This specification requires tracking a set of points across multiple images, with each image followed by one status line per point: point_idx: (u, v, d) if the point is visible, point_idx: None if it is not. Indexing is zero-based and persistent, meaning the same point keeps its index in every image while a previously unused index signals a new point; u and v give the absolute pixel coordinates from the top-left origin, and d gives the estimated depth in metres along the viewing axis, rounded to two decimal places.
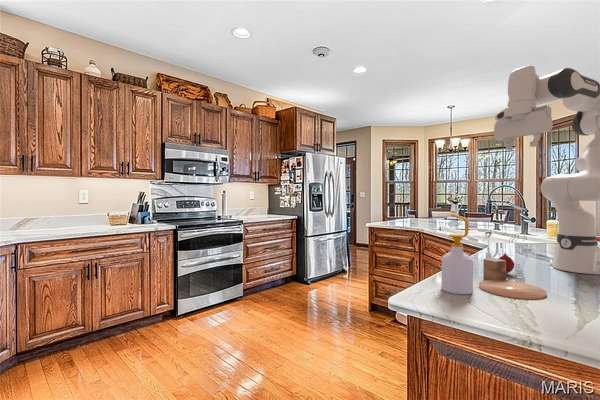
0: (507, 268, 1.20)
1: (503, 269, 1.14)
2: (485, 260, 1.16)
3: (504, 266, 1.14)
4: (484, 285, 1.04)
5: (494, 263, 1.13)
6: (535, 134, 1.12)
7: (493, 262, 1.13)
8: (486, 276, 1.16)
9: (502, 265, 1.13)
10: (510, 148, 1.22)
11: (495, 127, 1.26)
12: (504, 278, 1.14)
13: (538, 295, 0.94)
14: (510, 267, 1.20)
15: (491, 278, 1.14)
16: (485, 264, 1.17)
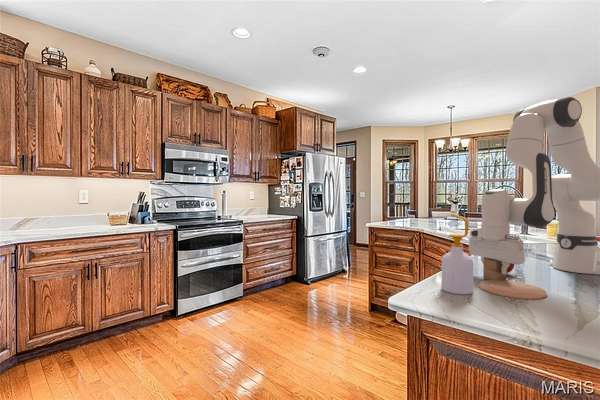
0: (507, 268, 1.20)
1: None
2: (485, 260, 1.16)
3: None
4: (484, 285, 1.04)
5: (494, 263, 1.13)
6: (504, 263, 1.11)
7: (493, 262, 1.13)
8: (486, 276, 1.16)
9: (502, 265, 1.13)
10: None
11: (470, 242, 1.23)
12: (504, 278, 1.14)
13: (538, 295, 0.94)
14: (510, 267, 1.20)
15: (491, 278, 1.14)
16: (485, 264, 1.17)
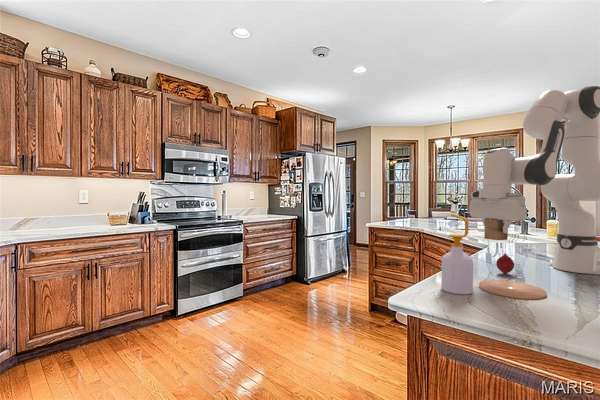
0: (507, 268, 1.20)
1: None
2: (486, 220, 1.15)
3: None
4: (484, 285, 1.04)
5: (495, 222, 1.11)
6: (505, 221, 1.09)
7: (494, 221, 1.12)
8: (487, 236, 1.15)
9: None
10: None
11: (471, 204, 1.22)
12: (505, 238, 1.12)
13: (538, 295, 0.94)
14: (510, 267, 1.20)
15: (492, 238, 1.13)
16: (486, 224, 1.15)
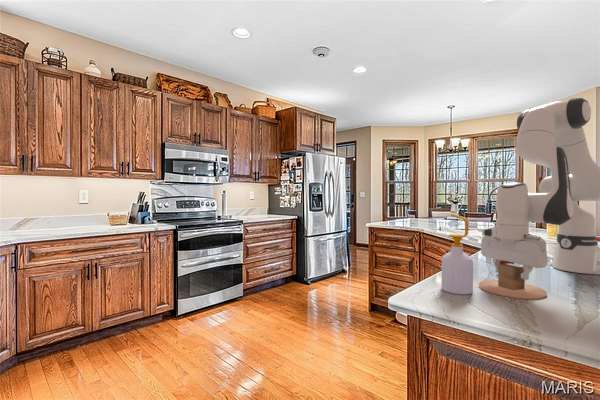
0: None
1: None
2: (500, 266, 1.03)
3: None
4: (484, 285, 1.04)
5: (511, 269, 0.99)
6: (526, 267, 0.96)
7: (510, 268, 1.00)
8: (501, 284, 1.03)
9: (520, 272, 1.00)
10: None
11: (482, 242, 1.10)
12: (522, 286, 1.00)
13: (538, 295, 0.94)
14: None
15: (507, 286, 1.01)
16: (500, 270, 1.03)
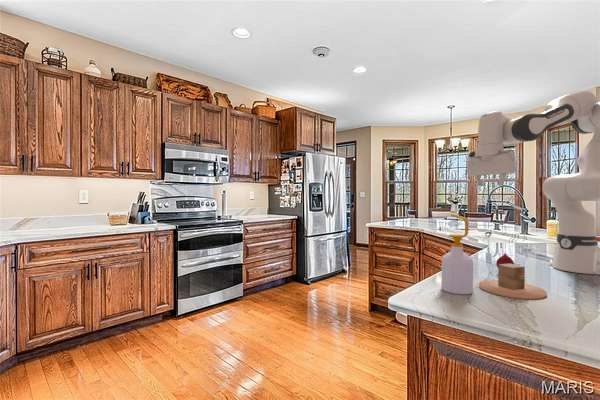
0: None
1: (521, 276, 1.00)
2: (500, 266, 1.03)
3: (522, 273, 1.00)
4: (484, 285, 1.04)
5: (511, 269, 0.99)
6: (501, 175, 1.24)
7: (510, 268, 1.00)
8: (501, 284, 1.03)
9: (520, 272, 1.00)
10: (481, 185, 1.34)
11: (468, 164, 1.37)
12: (522, 286, 1.00)
13: (538, 295, 0.94)
14: None
15: (507, 286, 1.01)
16: (500, 270, 1.03)
